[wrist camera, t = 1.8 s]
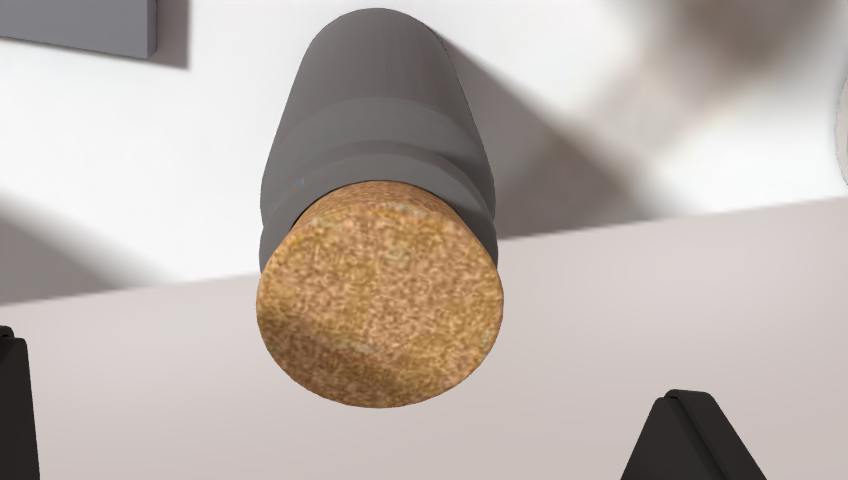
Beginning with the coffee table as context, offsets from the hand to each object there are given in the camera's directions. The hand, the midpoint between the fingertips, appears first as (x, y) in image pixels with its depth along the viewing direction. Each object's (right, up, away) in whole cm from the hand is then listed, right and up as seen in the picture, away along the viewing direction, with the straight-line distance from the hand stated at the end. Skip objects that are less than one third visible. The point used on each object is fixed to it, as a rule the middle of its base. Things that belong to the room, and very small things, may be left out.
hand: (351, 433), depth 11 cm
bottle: (-1, +9, +16) cm, 18 cm away
